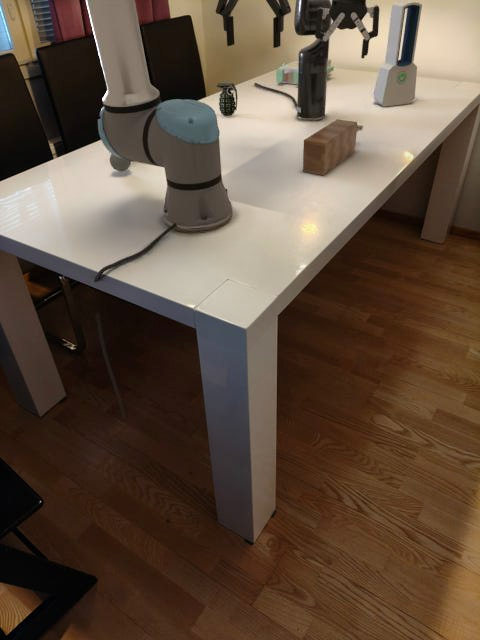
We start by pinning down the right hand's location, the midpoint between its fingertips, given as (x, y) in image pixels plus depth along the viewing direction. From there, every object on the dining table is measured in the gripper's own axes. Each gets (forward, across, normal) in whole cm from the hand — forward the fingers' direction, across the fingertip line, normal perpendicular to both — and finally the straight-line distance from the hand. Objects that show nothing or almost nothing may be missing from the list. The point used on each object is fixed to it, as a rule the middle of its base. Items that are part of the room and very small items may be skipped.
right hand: (344, 58), depth 116 cm
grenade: (+25, +38, -41) cm, 61 cm away
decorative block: (+26, +16, -94) cm, 99 cm away
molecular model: (+25, +54, +1) cm, 59 cm away
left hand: (-1, +24, -11) cm, 26 cm away
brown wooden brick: (+24, +2, +2) cm, 25 cm away
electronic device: (+25, -18, -56) cm, 64 cm away
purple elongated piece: (+23, 0, -3) cm, 24 cm away
